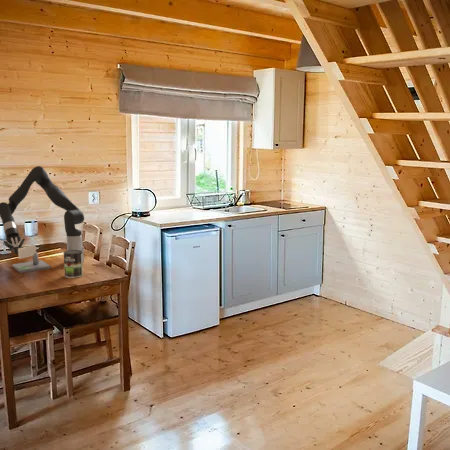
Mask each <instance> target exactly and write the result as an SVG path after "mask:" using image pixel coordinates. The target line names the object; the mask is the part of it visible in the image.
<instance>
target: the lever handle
mask: <svg viewBox="0 0 450 450" xmlns="http://www.w3.org/2000/svg"><path fill="white" fill-rule="evenodd" d="M17 255H18V257H17V258H18V260H21V259H25V258H29V257H32V262H33V264H39V262H38V261H39V252H37V248H36V244H31V245H28V246H24V247H23V246H22V247H21V248H19V249H18V254H17Z"/></svg>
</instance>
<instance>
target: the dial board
mask: <svg viewBox="0 0 450 450" xmlns="http://www.w3.org/2000/svg"><path fill="white" fill-rule="evenodd" d="M38 262H39V264H33V261H28V262H27V261H26V262H19V263H14V264H11V268H13V269H14V270H16V272H18V273H19V274H22V273H23V274H24V273H30V272H34V271H36V272H37V271H44V270H50V269H51V268H52V267H51V265H50V264H48V263H47V262H46V261H44V260H42V259H40V260H38Z"/></svg>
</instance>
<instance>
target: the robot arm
mask: <svg viewBox="0 0 450 450" xmlns="http://www.w3.org/2000/svg"><path fill="white" fill-rule="evenodd" d="M34 183H36V184H37V185H39V187H40V188H42V190H43V191H44V192H45V194H46V196H47V197H48V199H50V201H51V202H52V203H53V204H54V205H55V206H57V207H58V208H60V209H63V210H65V212H64V215H63V220H64V230H65V233H66V234H65V235H66V248H67V249H66V251H68V250H81V251H82V263H84V262H85V254H84V252H85V250H84V246H83V235H82V230H81V229H77V228H76V225H80V224H82V223H83V222H84V221H85V216H84V213H83V211H82V210H81V209H80V208H79V207H78V206H76V204H75V203H73V202H72V200H70V199H69V198H68V196H67V195H66V194H65V192H64V191H63V190H62V189H61V188H60V187H59V186H58V185H56V184H55V183H53V181H52V180H51V178H50V177H49V174H48V173H47V171H46V170H45V168H44V167H43V166H40V165H38V166H33V167H32V169H31V171H29V173H28V175H27V176H26V177H25V178H24V180H23V181H22V182H21V184H20V185H19V186H18V187H17V188H16V190H15V191H14V192H13V193H12V194H11V195H10V196H8V203H6V202H0V219H1V222H2V223H1V224H2V225H3V231H4V234H5V240H3V246H5V247H7V248H8V249H10V250H13V253H14V254H15V255H18V249H19V248H22V247H23V245H24V243H25V240H26V239H25V238H22V237H21V236H20V233H19V231H18V226H17V224H16V222H15V219H14V216H13V214H14V213H15V212H16V209H17V207H18V206H19V204H21V202H22V201H24V199H25V198H26V197H27V195H28V193H29V190H30V189H31V187H32V186H33V184H34Z"/></svg>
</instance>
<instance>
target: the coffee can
mask: <svg viewBox="0 0 450 450" xmlns="http://www.w3.org/2000/svg"><path fill="white" fill-rule="evenodd" d="M63 262H64V263H63V265H64V269H63V270H64V277H65V278H67V279H68V278H69V279H76V278H81V277H83V276H84V269H83V262H82V251H81V250H68V251H67V250H65V251H63Z"/></svg>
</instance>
